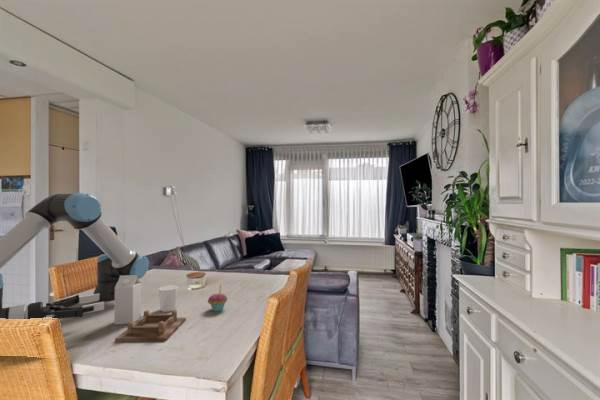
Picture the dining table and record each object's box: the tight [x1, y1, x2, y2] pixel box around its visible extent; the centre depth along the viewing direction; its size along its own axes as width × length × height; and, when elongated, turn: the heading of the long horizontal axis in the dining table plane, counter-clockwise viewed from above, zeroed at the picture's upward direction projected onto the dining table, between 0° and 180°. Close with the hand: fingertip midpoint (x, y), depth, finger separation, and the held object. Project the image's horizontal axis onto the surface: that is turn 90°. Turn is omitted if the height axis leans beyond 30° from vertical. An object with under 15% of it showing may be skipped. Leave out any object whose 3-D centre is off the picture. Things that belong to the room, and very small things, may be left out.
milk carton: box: [114, 275, 142, 325], centre depth 118 cm, size 7×7×19 cm
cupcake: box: [207, 284, 228, 312], centre depth 131 cm, size 9×8×12 cm
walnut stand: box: [114, 309, 187, 343], centre depth 109 cm, size 18×18×5 cm
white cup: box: [158, 284, 179, 313], centre depth 131 cm, size 8×8×10 cm
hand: (101, 301), depth 112 cm, fingers open, 13 cm apart
